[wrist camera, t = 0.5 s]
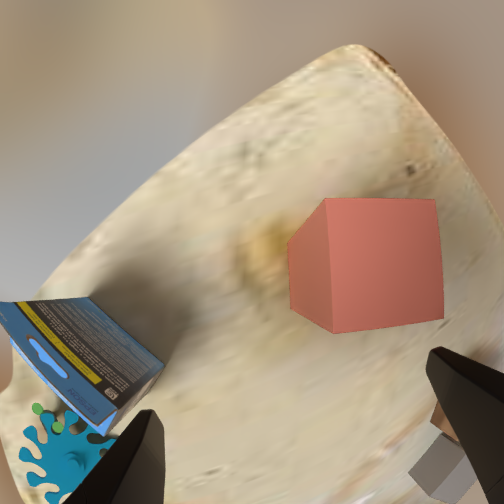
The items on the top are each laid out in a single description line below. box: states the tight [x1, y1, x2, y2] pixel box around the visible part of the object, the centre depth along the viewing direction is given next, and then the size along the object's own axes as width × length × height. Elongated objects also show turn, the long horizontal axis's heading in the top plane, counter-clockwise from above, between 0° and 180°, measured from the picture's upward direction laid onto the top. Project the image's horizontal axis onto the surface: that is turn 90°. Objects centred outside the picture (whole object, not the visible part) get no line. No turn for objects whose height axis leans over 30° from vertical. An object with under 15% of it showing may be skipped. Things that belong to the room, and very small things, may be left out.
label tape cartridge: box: [0, 297, 165, 436], centre depth 17 cm, size 9×4×12 cm, turn 54°
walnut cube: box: [430, 401, 459, 441], centre depth 20 cm, size 5×5×5 cm
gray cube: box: [408, 434, 478, 504], centre depth 19 cm, size 5×5×5 cm
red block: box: [287, 198, 444, 334], centre depth 17 cm, size 5×5×12 cm
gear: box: [19, 403, 116, 504], centre depth 19 cm, size 11×6×10 cm
